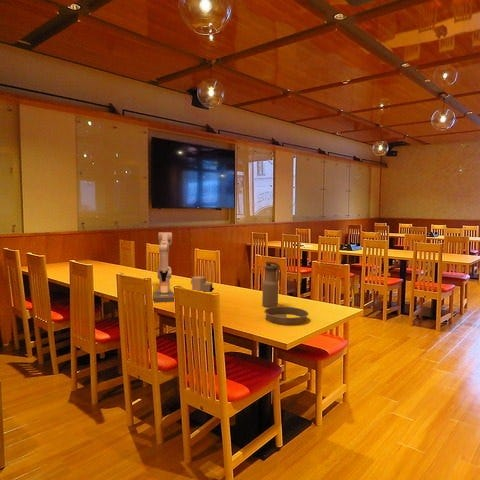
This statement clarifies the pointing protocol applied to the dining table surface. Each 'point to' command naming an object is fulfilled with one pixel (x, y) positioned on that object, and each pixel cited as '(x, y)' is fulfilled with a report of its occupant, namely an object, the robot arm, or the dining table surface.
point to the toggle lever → (164, 288)
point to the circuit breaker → (201, 284)
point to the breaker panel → (163, 296)
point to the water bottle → (271, 285)
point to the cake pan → (280, 313)
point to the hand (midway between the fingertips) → (163, 281)
